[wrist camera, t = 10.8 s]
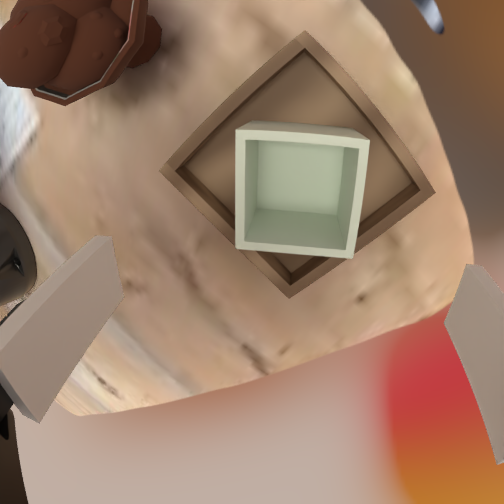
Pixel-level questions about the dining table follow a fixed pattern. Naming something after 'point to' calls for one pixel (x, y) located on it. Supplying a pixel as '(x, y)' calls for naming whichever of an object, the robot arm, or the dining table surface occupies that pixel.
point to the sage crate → (299, 188)
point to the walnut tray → (298, 111)
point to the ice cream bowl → (74, 45)
